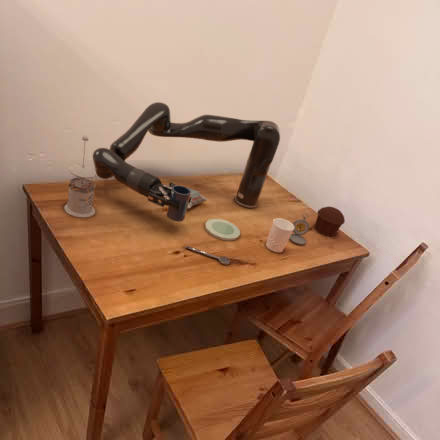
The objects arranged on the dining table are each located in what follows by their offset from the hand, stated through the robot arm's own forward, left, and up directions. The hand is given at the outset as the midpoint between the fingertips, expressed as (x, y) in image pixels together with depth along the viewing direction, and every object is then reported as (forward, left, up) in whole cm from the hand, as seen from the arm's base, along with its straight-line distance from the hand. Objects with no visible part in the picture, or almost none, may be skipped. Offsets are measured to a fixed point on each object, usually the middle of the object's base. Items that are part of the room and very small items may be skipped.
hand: (185, 203), depth 142 cm
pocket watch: (-25, +42, -11) cm, 50 cm away
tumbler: (-1, -2, -6) cm, 6 cm away
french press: (+6, -32, -11) cm, 35 cm away
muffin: (-41, +53, -11) cm, 67 cm away
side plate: (-12, +14, -11) cm, 21 cm away
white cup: (-13, +34, -11) cm, 38 cm away
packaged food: (-23, -2, -11) cm, 25 cm away
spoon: (+8, +12, -11) cm, 19 cm away
